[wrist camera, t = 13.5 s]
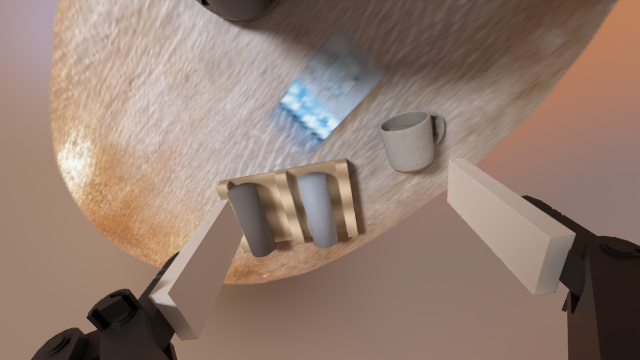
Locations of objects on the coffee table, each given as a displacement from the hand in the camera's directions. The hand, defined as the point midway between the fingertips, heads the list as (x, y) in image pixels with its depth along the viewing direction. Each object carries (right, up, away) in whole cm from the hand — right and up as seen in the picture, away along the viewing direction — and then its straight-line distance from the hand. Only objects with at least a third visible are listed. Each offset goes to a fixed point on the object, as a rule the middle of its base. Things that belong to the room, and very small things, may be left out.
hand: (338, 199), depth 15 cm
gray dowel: (-1, -3, +33) cm, 33 cm away
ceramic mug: (+14, +10, +28) cm, 33 cm away
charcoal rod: (-14, -6, +34) cm, 37 cm away
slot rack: (-7, -4, +34) cm, 35 cm away
